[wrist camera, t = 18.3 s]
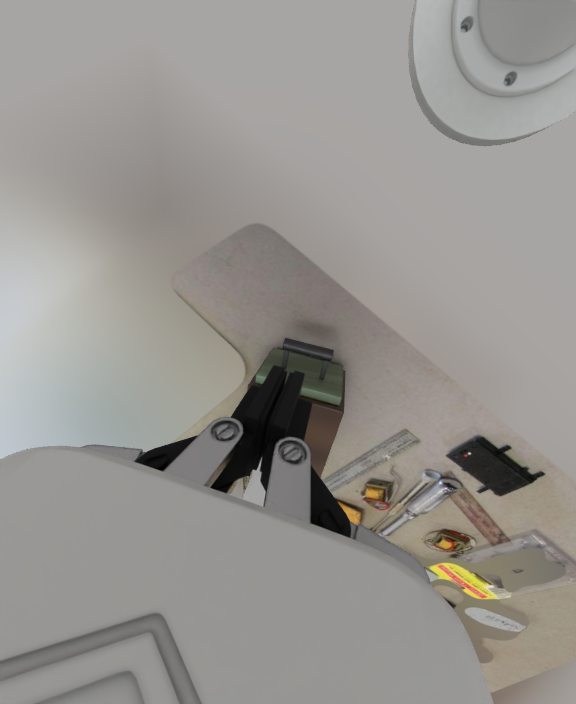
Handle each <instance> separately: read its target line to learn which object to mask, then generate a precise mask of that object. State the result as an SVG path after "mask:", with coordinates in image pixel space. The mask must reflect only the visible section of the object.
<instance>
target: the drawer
mask: <svg viewBox="0 0 576 704" xmlns="http://www.w3.org/2000/svg"><path fill="white" fill-rule="evenodd" d="M283 349H285V350H280V349H276V348H274V349H273V350H272V352H271V353H270V355H269V356H268V358H267V359H266V361H265V362H264V364H263V365H262V367H261V368H260V370H259V371H258V373H257V375H256V381H255V382H256V383H259V384H263V382H264V381H265V379H266V377H267V375H268V374H269V372H270V370H271V368H272V367H273V365H276V366H280V367H284V371H287V376H286V380H287V378H288V376H289V373H290V372H292V373H294V371H299V372H302V373H305V376H304V380H303V385H302V389H301V393H300V396H302V397H305V398H309V399H312V400H316V401H319V402H323V403H327V404H330V405H331V404H334V405H338V406H339V405H340V402H341V399H342V383H343V366H342V365H338V364H334V363H330V362H329V361H331V360H332V356H333V352H334V350H332V349H328V348H324V347H320V346H316V345H312V344H308V343H304V342H300V341H296V340H292V339H288V338H285V340H284V343H283ZM289 351H293V352H296V353H300V354H304V355H308V356H312V357H316V358H320V359H324V361H323V360H319V359H315V358H311V357H307V356H303V355H299V354H296V353H292V352H289ZM285 383H286V381H285Z"/></svg>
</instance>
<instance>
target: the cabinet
mask: <svg viewBox="0 0 576 704" xmlns="http://www.w3.org/2000/svg"><path fill="white" fill-rule="evenodd" d="M270 353H271V352H270ZM270 353H269V355H270ZM269 355H268V356H269ZM268 356H267V358H268ZM267 358H266V359H267ZM266 359H265V361H266ZM265 361H264V362H265ZM264 362H263V364H264ZM263 364H262V365H263ZM262 365H261V367H262ZM261 367H260V368H261ZM260 368H259V370H260ZM259 370H258V371H259ZM258 371H257V373H258ZM257 373H256V374H255V376H254V377H253V379H252V380H251V382H250V383H249V385H248V390H249V388H250V387H251V385H255V386H259V387H261V386H262V384H259V383H256V382H255V381H256V375H257ZM344 395H345V371H344V370H343V383H342V399H341V402H340V405H339V406H338V405H334V404H331V405H330V404H327V403H323V402H319V401H316V400H312V399H309V398H305V397H302V396H300V397H299V398H301V399H304V400H308V401H311V402H313V404H312V408H311V413H310V417H309V421H308V426H307V430H306V434H305V439H304V442H305V443H306V444H307V445H308V447H309V449H310V453H311V466H312V467H313V469H314V470H315V471H316V473H317V474H318V476H319V477H321V475H322V472H323V469H324V466H325V463H326V461H327V458H328V455H329V452H330V450H331V447H332V444H333V441H334V439H335V436H336V433H337V430H338V427H339V425H340V422H341V419H342V416H343V414H344ZM252 470H253V469H252Z"/></svg>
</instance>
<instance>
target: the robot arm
mask: <svg viewBox="0 0 576 704" xmlns="http://www.w3.org/2000/svg"><path fill="white" fill-rule="evenodd" d="M463 28H464V29H465V30H466V32H462V31H461V29H463ZM451 36H452V43H453V51H454V55H455V58H456V61H457V64H458V67H459V68H460V70H461V72H462V73H463V75H464V76H465V78H466V80H468V81H469V82H470V83H471V84H472V85H473V86H474V87H475V88H476V89H478V90H480V91H482V92H484V93H486V94H488V95H494V96H499V97H514V96H521V95H525V94H529V93H532V92H536V91H538V90H540V89H542V88H545V87H547V86H549V85H551V84H553V83H555V82H556V81H558V80H560V79H561V78H563V77H564V76H566V75H567V74H569V73H570V72H572V71H573V70H575V69H576V0H454V5H453V11H452V28H451ZM504 81H507V83H508V84H507V86H506V85H505V84H504ZM286 376H287V371H284V367H280V366H276V365H273V367H272V368H271V370H270V372H269V374H268V375H267V377H266V379H265V381H264V382H263V384H262V386H261V387H259V386H255V385H251V387H250V388H249V390H248V391H247V393H246V394H245V396H244V397H243V399H242V400H241V402H240V404H239V405H238V407H237V408H236V410H235V411H234V413H233V414H232V416H231V417H223V418H218V419H216V420H214V421H213V422H212V423H210V424H209V425H208V426H207V427H206V428H205V429H204V430H203V431H202V432H201V433H200V434H199V435H198V436H194V437H191V438H188V439H184V440H181V441H178V442H174V443H171V444H168V445H165V446H161V447H158V448H155V449H152V450H150V451H148V452H143V451H142V449H134V448H124V447H114V446H104V445H87V446H83V447H70V446H48V447H38V448H31V449H26V450H23V451H20V452H16V453H14V454H11V455H9V456H7V457H5V458H3V459H1V460H0V704H493V700H492V697H491V694H490V691H489V688H488V685H487V682H486V679H485V676H484V674H483V671H482V668H481V665H480V663H479V660H478V657H477V655H476V652H475V650H474V647H473V645H472V643H471V640H470V638H469V636H468V634H467V632H466V630H465V628H464V626H463V624H462V623H461V621H460V619H459V617H458V616H457V614H456V613H455V611H454V610H453V609H452V607H451V606H450V605H449V604H448V603H447V601H446V600H445V599H444V598H443V597H442V596H441V595H440V594H439V593H438V592H437V591H436V590H435V589H434V588H433V587H432V586H431V585H430V580H429V577H428V575H427V573H426V570H425V568H424V567H423V566H422V565H421V563H420V562H419V561H418V560H417V559H416V558H414V557H413V556H412V555H411V554H409V553H407V552H406V551H404V550H403V549H401V548H399V547H398V546H396V545H394V544H393V543H391V542H389V541H388V540H386V539H384V538H382V537H381V536H379V535H377V534H376V533H374V532H372V531H371V530H369V529H367V528H366V527H364V526H362V525H361V524H358V525H355V524H354V523H352V522H350V521H349V519H348V517H347V515H346V513H345V512H344V511H343V509H342V508H341V506H340V505H339V504H338V502H337V501H336V499H335V498H334V497H333V495H332V494H331V492H330V491H329V490H328V488H327V487H326V485H325V484H324V483H323V481H322V480H321V478H320V477H319V476H318V474H317V473H316V471H315V470H314V469H313V467H312V466H311V453H310V449H309V447H308V445H307V444H306V443H305V442H304V439H305V434H306V430H307V426H308V421H309V417H310V413H311V408H312V404H313V402H311V401H308V400H304V399H301V398H299V397H300V393H301V389H302V385H303V380H304V376H305V373H302V372H299V371H294V373H292V372H290V373H289V376H288V378H287V380H286ZM285 381H286V383H285ZM261 458H262V461H261ZM260 461H261V467H260V472H262V473H261V479H260V482H261V484H262V486H263V488H264V490H265V492H266V493H265V498H264V504H263V506H260V505H257V504H254V503H251V502H249V501H246V500H243V499H240V498H237V497H234V496H232V495H230V494H231V493H232V491H233V490H234V488H235V486H236V485H237V482H238V479H241V478H243V477H245V476H246V475H247V476H250V474H251V472H252V469H253V470H257V468H258V466H259V463H260Z"/></svg>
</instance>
